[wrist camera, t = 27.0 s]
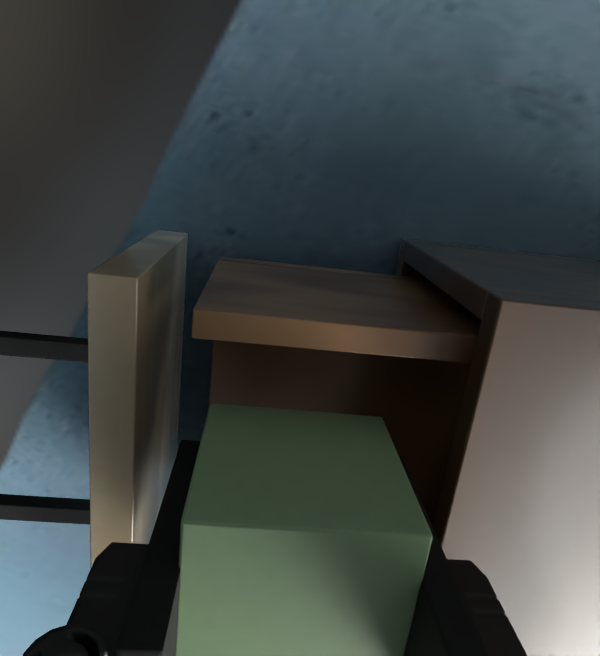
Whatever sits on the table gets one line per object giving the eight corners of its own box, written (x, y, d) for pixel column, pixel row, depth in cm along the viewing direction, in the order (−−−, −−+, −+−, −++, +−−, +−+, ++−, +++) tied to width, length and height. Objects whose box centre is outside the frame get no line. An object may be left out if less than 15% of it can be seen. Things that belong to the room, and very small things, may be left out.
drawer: (18, 493, 23) (-103, 654, 15) (0, 212, 19) (-171, 246, 12) (454, 521, 25) (533, 676, 17) (517, 269, 21) (654, 329, 13)
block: (209, 401, 14) (180, 521, 10) (382, 415, 15) (434, 536, 10) (200, 545, 16) (170, 708, 11) (356, 554, 16) (391, 714, 12)
